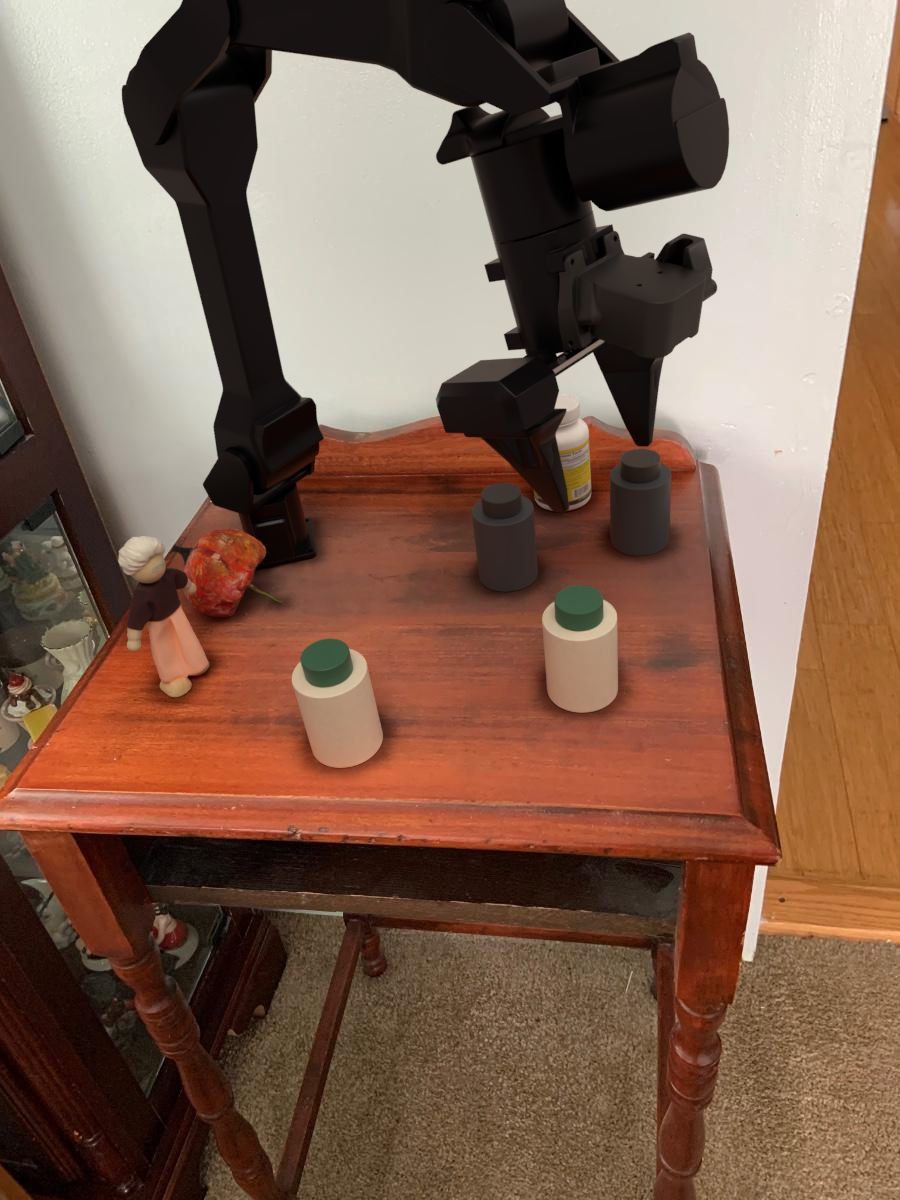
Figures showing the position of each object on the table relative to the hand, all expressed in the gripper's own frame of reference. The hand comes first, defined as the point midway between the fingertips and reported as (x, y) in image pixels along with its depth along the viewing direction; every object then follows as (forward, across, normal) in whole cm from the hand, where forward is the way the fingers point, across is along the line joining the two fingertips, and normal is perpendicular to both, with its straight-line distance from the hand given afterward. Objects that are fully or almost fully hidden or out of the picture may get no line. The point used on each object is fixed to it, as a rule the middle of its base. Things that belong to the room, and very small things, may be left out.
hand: (604, 476), depth 58 cm
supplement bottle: (+12, +16, +20) cm, 28 cm away
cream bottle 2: (+15, -4, +3) cm, 16 cm away
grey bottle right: (+14, +14, +10) cm, 22 cm away
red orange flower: (+8, -12, +32) cm, 36 cm away
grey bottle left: (+12, +4, +16) cm, 20 cm away
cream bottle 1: (+12, -18, +13) cm, 25 cm away
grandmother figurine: (+8, -20, +28) cm, 36 cm away
